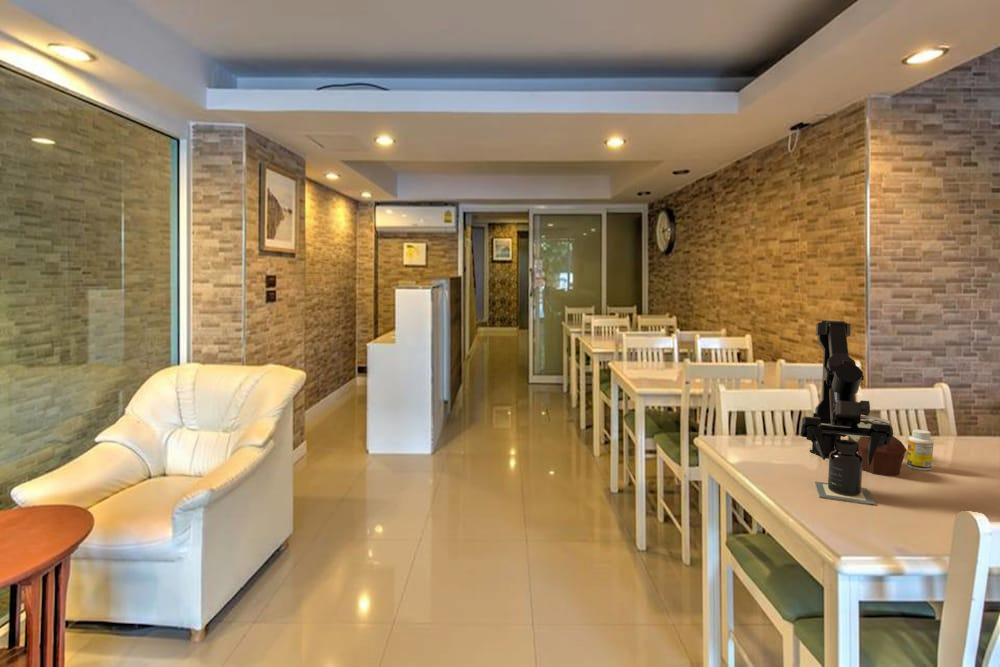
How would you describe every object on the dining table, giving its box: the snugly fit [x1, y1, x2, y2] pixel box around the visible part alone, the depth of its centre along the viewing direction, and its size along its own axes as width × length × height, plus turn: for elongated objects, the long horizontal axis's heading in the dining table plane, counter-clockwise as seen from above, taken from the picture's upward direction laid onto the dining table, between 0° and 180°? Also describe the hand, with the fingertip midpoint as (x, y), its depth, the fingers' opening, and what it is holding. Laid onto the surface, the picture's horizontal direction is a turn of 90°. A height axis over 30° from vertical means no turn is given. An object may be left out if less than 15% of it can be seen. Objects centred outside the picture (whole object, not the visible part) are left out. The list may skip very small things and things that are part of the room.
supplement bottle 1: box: [827, 439, 863, 496], centre depth 137 cm, size 7×7×12 cm
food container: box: [847, 415, 892, 442], centre depth 173 cm, size 12×6×10 cm, turn 34°
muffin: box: [857, 435, 908, 477], centre depth 154 cm, size 12×11×10 cm
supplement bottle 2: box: [906, 428, 935, 471], centre depth 157 cm, size 6×6×10 cm
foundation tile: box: [814, 481, 876, 506], centre depth 137 cm, size 11×11×1 cm
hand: (846, 461), depth 135 cm, fingers open, 9 cm apart
